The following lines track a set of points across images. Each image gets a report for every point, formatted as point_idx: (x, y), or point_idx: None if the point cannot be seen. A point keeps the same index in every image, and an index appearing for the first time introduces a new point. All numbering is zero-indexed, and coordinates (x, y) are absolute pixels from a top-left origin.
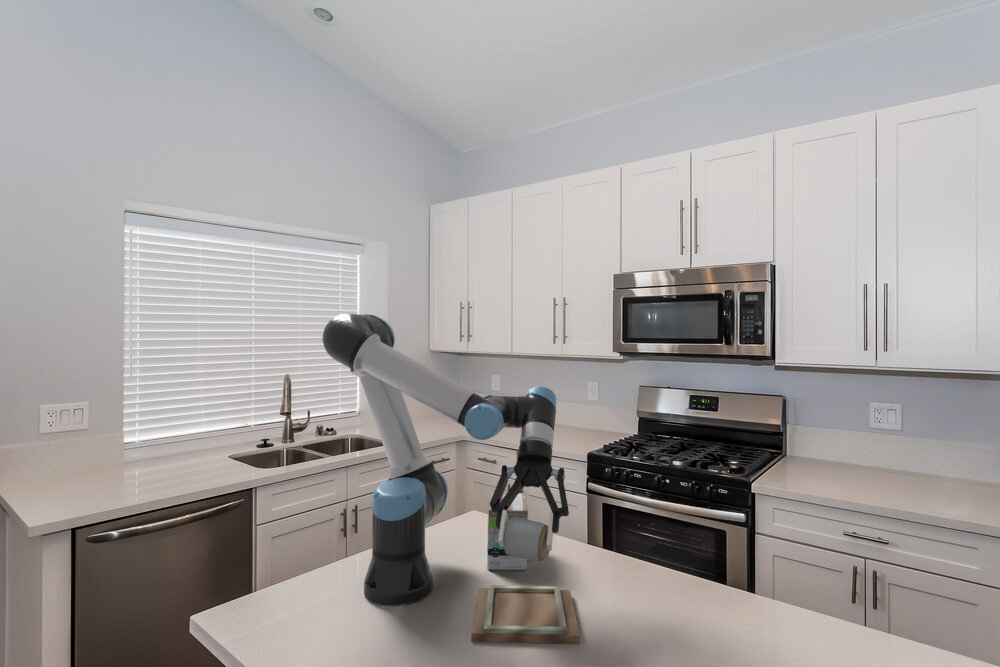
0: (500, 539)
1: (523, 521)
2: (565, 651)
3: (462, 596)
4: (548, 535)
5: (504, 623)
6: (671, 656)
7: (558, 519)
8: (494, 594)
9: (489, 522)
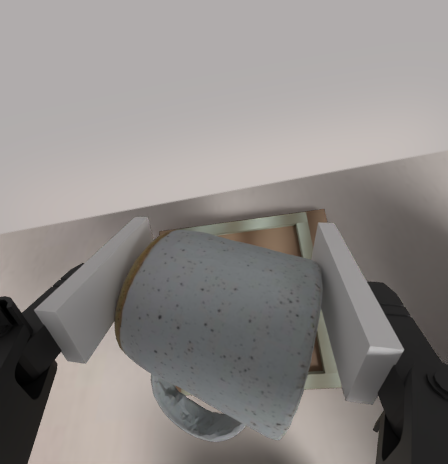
0: (325, 226)
1: (232, 307)
2: (183, 214)
3: None
4: (127, 233)
5: (276, 246)
6: (58, 227)
7: (38, 298)
8: (318, 356)
9: None
